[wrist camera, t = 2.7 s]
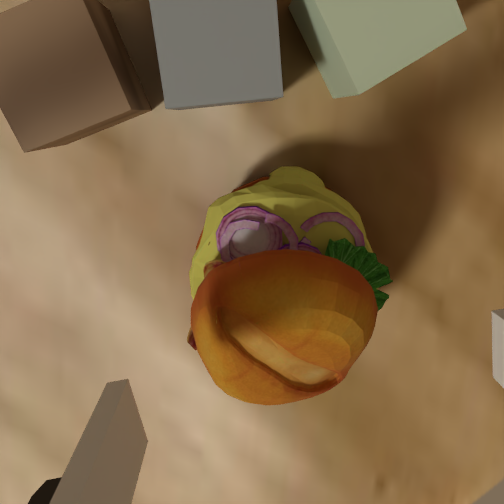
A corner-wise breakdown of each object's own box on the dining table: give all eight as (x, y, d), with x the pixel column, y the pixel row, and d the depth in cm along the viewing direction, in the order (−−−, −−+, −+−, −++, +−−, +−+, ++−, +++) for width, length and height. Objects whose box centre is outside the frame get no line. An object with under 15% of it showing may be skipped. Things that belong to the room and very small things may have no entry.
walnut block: (18, 48, 22) (-42, 30, 17) (109, 10, 21) (74, -19, 16) (66, 144, 23) (24, 152, 18) (152, 110, 23) (131, 109, 18)
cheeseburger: (386, 175, 24) (464, 277, 16) (332, 317, 30) (368, 450, 21) (208, 142, 23) (189, 234, 15) (186, 297, 29) (163, 429, 20)
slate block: (163, 4, 21) (144, -28, 16) (264, -6, 21) (273, -40, 17) (179, 110, 23) (165, 109, 18) (272, 100, 23) (283, 96, 18)
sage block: (287, 7, 22) (304, -23, 17) (376, -50, 21) (419, -98, 16) (332, 98, 23) (359, 94, 18) (416, 47, 22) (467, 29, 18)
